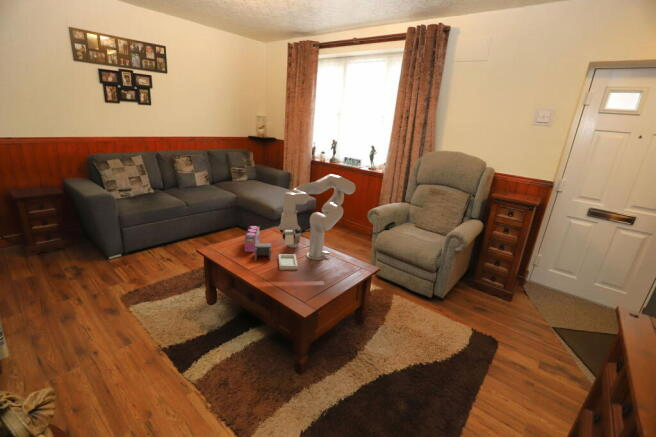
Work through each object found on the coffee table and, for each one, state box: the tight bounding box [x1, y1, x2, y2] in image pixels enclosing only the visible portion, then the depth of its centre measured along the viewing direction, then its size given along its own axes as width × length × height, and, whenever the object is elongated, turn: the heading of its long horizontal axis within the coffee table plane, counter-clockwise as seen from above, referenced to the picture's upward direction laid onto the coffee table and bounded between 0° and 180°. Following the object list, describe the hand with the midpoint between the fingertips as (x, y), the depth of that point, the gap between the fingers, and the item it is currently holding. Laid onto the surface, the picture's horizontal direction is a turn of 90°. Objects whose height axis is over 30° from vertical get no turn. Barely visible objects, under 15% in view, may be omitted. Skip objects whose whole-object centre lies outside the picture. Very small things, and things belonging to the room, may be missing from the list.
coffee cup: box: [287, 228, 303, 249], centre depth 231 cm, size 11×11×15 cm
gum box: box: [244, 225, 260, 253], centre depth 227 cm, size 22×7×13 cm, turn 4°
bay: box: [254, 242, 272, 261], centre depth 210 cm, size 10×9×8 cm
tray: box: [278, 253, 299, 271], centre depth 205 cm, size 11×18×2 cm, turn 11°
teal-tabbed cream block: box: [284, 230, 294, 245], centre depth 200 cm, size 5×13×6 cm, turn 11°
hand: (288, 239), depth 201 cm, fingers closed on teal-tabbed cream block, 5 cm apart
